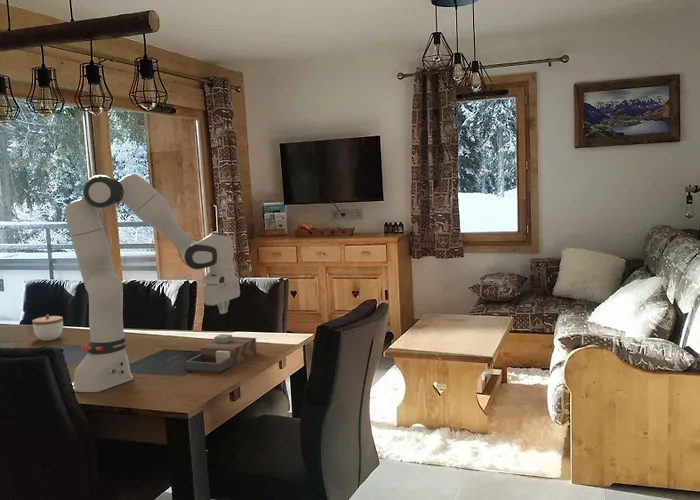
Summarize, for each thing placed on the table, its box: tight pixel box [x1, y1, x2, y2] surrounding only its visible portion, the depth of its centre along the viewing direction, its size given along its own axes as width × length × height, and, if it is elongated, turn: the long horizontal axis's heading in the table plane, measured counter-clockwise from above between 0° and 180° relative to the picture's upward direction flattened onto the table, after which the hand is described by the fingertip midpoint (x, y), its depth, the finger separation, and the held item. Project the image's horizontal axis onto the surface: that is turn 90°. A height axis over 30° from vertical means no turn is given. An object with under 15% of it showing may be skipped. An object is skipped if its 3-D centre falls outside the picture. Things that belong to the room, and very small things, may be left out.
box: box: [185, 353, 235, 374], centre depth 232 cm, size 10×14×4 cm
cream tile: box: [216, 350, 230, 363], centre depth 233 cm, size 5×5×2 cm
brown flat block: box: [199, 336, 258, 366], centre depth 245 cm, size 18×14×6 cm
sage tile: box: [213, 333, 233, 343], centre depth 247 cm, size 5×5×2 cm
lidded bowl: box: [31, 314, 64, 341], centre depth 286 cm, size 13×13×11 cm
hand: (223, 313), depth 234 cm, fingers closed
